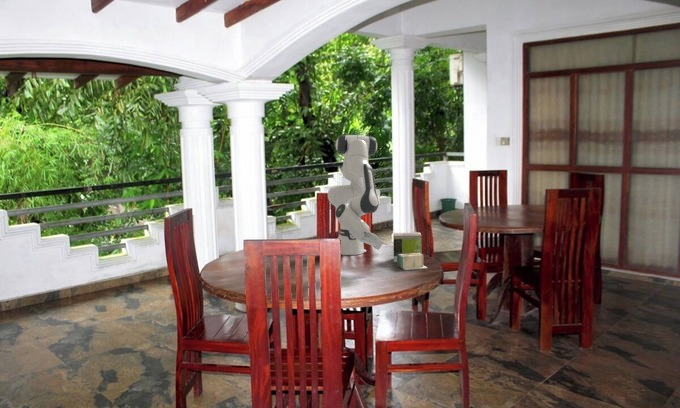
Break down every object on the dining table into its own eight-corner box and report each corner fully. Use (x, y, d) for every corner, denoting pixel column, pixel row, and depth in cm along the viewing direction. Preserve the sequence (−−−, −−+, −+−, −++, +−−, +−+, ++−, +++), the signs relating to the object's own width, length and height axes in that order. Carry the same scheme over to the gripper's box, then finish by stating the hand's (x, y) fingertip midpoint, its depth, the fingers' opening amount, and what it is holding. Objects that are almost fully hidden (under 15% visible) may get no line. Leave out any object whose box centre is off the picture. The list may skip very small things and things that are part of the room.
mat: (397, 265, 307) (397, 264, 307) (419, 263, 310) (419, 262, 310) (405, 270, 297) (405, 269, 297) (427, 268, 300) (427, 267, 300)
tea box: (421, 258, 322) (421, 231, 320) (421, 263, 312) (422, 235, 310) (393, 258, 323) (393, 231, 321) (393, 262, 313) (393, 235, 311)
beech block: (397, 254, 304) (418, 252, 307) (397, 265, 305) (418, 264, 308) (401, 256, 298) (423, 255, 301) (401, 268, 299) (423, 266, 302)
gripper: (374, 229, 281) (392, 247, 287) (355, 223, 300) (372, 240, 305) (366, 239, 280) (384, 257, 286) (347, 232, 299) (364, 249, 304)
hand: (378, 248), depth 296 cm, fingers closed
